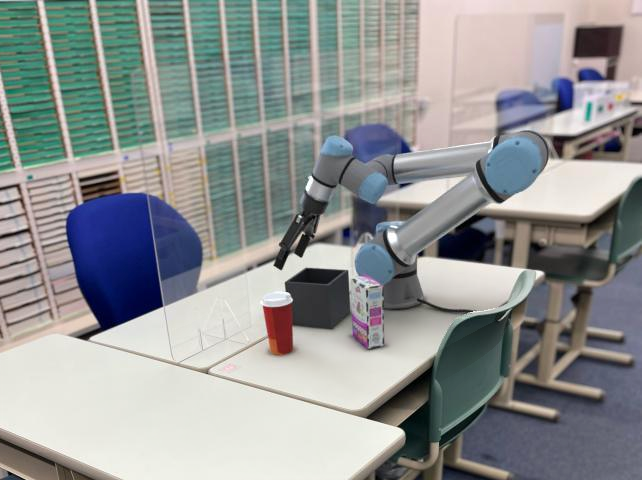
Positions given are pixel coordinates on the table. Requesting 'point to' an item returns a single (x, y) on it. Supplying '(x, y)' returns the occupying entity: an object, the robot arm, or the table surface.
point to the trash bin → (319, 297)
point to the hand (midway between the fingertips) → (288, 261)
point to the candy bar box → (367, 311)
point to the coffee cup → (278, 321)
